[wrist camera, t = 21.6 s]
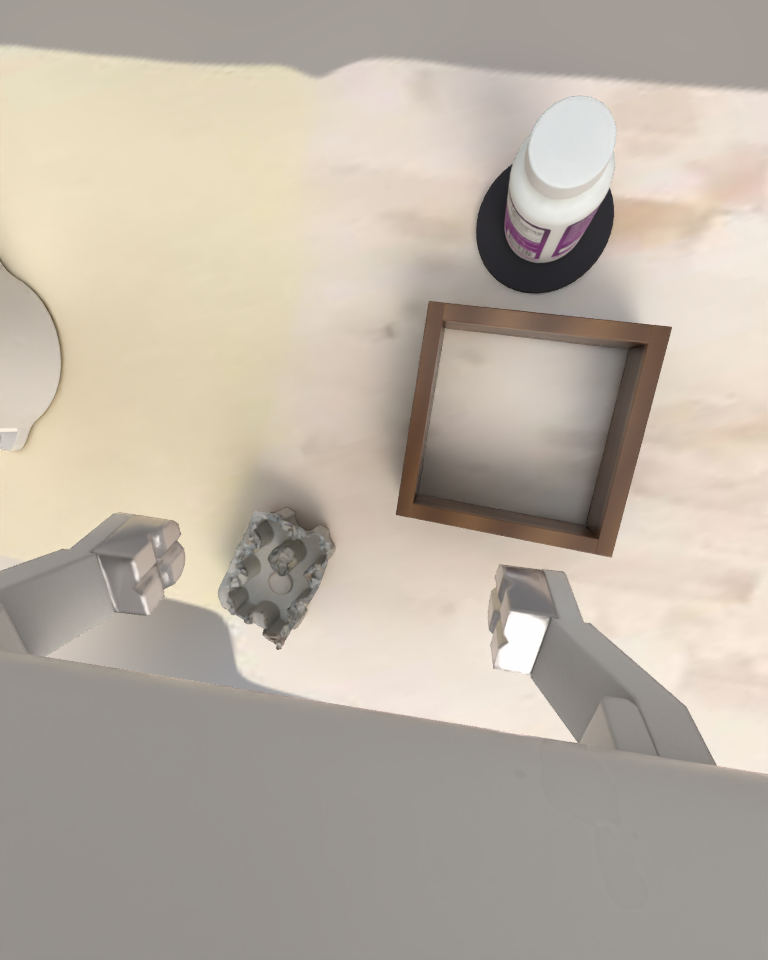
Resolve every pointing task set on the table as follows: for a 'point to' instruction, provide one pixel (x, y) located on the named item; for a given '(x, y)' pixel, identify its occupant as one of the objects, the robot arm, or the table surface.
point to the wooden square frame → (620, 445)
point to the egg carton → (275, 573)
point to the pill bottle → (560, 178)
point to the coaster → (531, 274)
